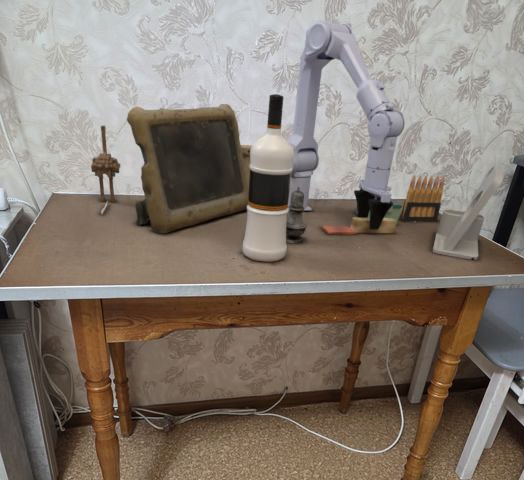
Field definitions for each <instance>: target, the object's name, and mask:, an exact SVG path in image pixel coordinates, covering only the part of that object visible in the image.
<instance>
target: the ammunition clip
mask: <svg viewBox="0 0 524 480" xmlns="http://www.w3.org/2000/svg"><path fill="white" fill-rule="evenodd" d="M445 178H446V177H445V175H443V176H442V177H441V179H440V178H439V175H437V176H436V177H435V179H434V177H433V175H431V176H430V178H429V179H428V177H427V175H425V176H424V178H423V180H422V175H421V174H420V175H419V176H418V178H417V180H416V175H413V176H412V178H411V180H410V183H409V187H408V190H407V193H406V197H405V200H404V202H403V204H402V208H401V213H400V216H399V220H401V221H402V222H438V219H439V214H440V210H441V205H442V202H441V201H442V197H443V192H444V186H445ZM439 179H440V180H439Z"/></svg>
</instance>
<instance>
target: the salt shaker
mask: <svg viewBox="0 0 524 480" xmlns="http://www.w3.org/2000/svg"><path fill="white" fill-rule="evenodd" d="M299 189H300V187H299V186H298V188H297V190H296V191H294V192H292V194H291V203H290V206H289V207H288V208H289V211H288V216H287V221H286V244H287V243H288V244H297V245H299V244H303V243H304V242H305V239H304V238H303V237H302V235H304V234H305V232H306V230H307V228H308V224H307V223H305V222H304V221H303V213H304V211H303V210H304V207H303V202H304V193H303V192H301V191H300V190H299Z"/></svg>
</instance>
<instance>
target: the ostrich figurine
mask: <svg viewBox="0 0 524 480" xmlns="http://www.w3.org/2000/svg"><path fill="white" fill-rule="evenodd" d="M106 129H107V128H106V125H104V124H103V125H101V126H100V132H101V134H100V135H101V144H102V145H101V146H102V153H99V154H98V156H97V157H93V158H92V163H91V165H90V170H91V173H94V176H95V177H97V178H98V182H99V193H100V194H99V195H100V202H105V201H106V197H105V185H104V175H106V176H107V178H108V182H109V185H108V186H109V195H110V202H111V203H115V201H116V197H115V189H114V178H115V177H116V174H120V169H121V162H119V161H118V159H117V158H115V157H112V154H111V153H108V149H107V137H106ZM108 205H109V203H108V202H106V203H105V204H104V206H103V208H102V209H101V212H100V214H103V213H104V212H105V210H106V208H107V207H108Z"/></svg>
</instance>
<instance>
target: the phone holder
mask: <svg viewBox="0 0 524 480" xmlns="http://www.w3.org/2000/svg"><path fill="white" fill-rule="evenodd" d="M503 180H504V176H503V173H502V170H501V168H499V167H497V166H496V165H492V167H491V168H490V169H489V171H488V172H487V174H486V175H485V177H483V179H482V181H481V183H480V185H479V187H478V188H477V190H476V192H475V194H474V196H473V198H472V199H471V201H470V203H469V205H468V206H467V208H466V209H465V210H464V211H461V210H454V209H444V210H443V211H442V213H441V217H440V220H439V224H438V227H437V231H436V234H435V237H434V242H433V247H432V252H433V253H435V254H437V255H444V256H449V257H455V258H460V259H465V260H472V259H473V260H474V261H476V260H478V258H479V242H478V241H479V237H480V233H481V230H482V227H483V223H484V220H485V217H484V215H482V214H480V213H481V212H482V210H483V209H484V207H485V206H486V204H487V203H488V202H489V201H490V200H491V198H492V196H493V195H494V194H495V192H496V191H497V189H498V188H499V187H500V185H501V184H502V182H503Z"/></svg>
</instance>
